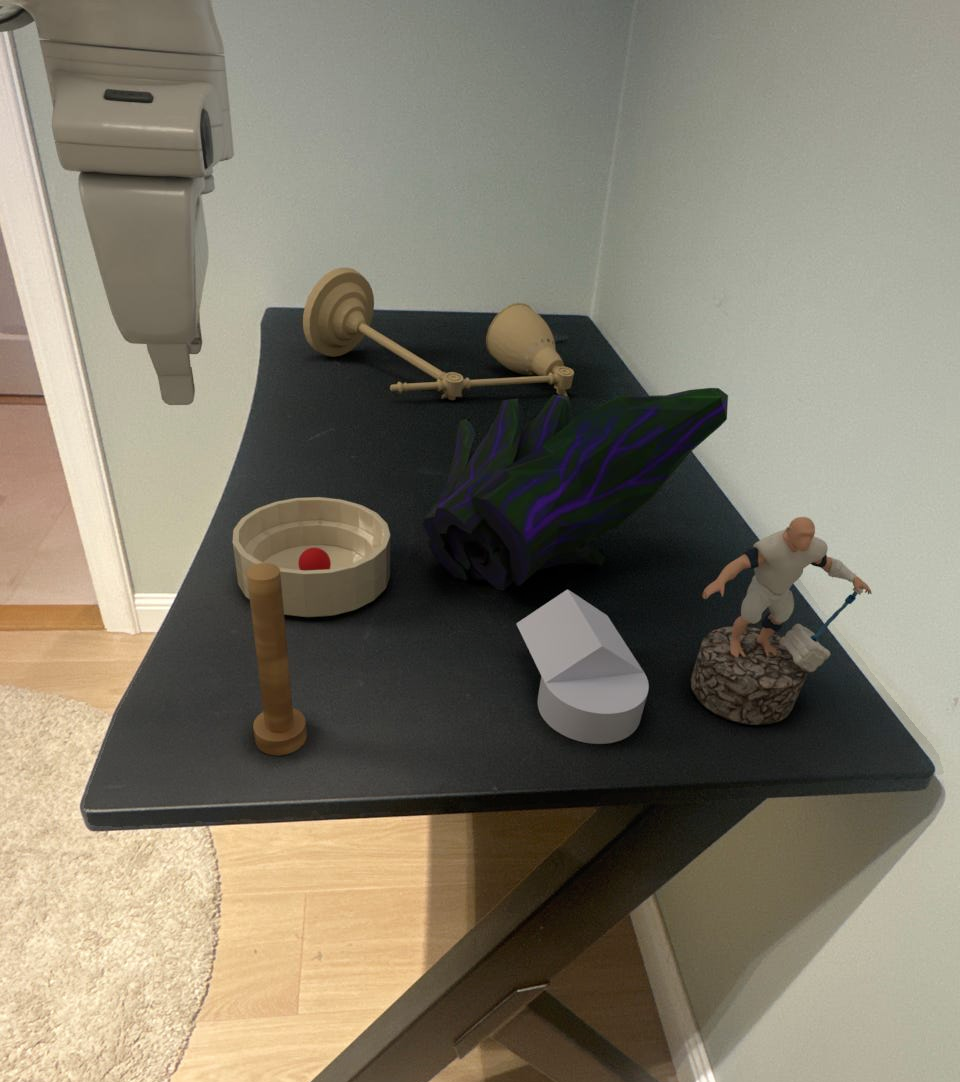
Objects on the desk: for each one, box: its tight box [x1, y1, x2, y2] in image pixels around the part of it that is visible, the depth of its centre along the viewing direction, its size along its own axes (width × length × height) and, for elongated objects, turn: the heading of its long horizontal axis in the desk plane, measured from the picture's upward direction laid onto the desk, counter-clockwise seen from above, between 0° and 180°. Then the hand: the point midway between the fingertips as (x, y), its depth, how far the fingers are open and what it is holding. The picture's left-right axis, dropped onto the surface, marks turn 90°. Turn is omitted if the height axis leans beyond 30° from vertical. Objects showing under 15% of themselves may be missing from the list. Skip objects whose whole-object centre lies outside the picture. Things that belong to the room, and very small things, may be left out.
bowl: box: [232, 496, 392, 618], centre depth 79 cm, size 15×15×6 cm
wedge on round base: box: [516, 589, 650, 745], centre depth 67 cm, size 9×7×13 cm
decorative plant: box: [422, 387, 729, 591], centre depth 83 cm, size 21×26×30 cm
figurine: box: [690, 516, 873, 726], centre depth 65 cm, size 15×9×18 cm, turn 99°
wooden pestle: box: [247, 563, 308, 756], centre depth 57 cm, size 4×4×16 cm
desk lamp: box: [302, 266, 575, 401], centre depth 131 cm, size 15×35×40 cm
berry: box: [298, 548, 331, 571], centre depth 79 cm, size 3×3×3 cm
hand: (184, 374), depth 50 cm, fingers open, 8 cm apart
